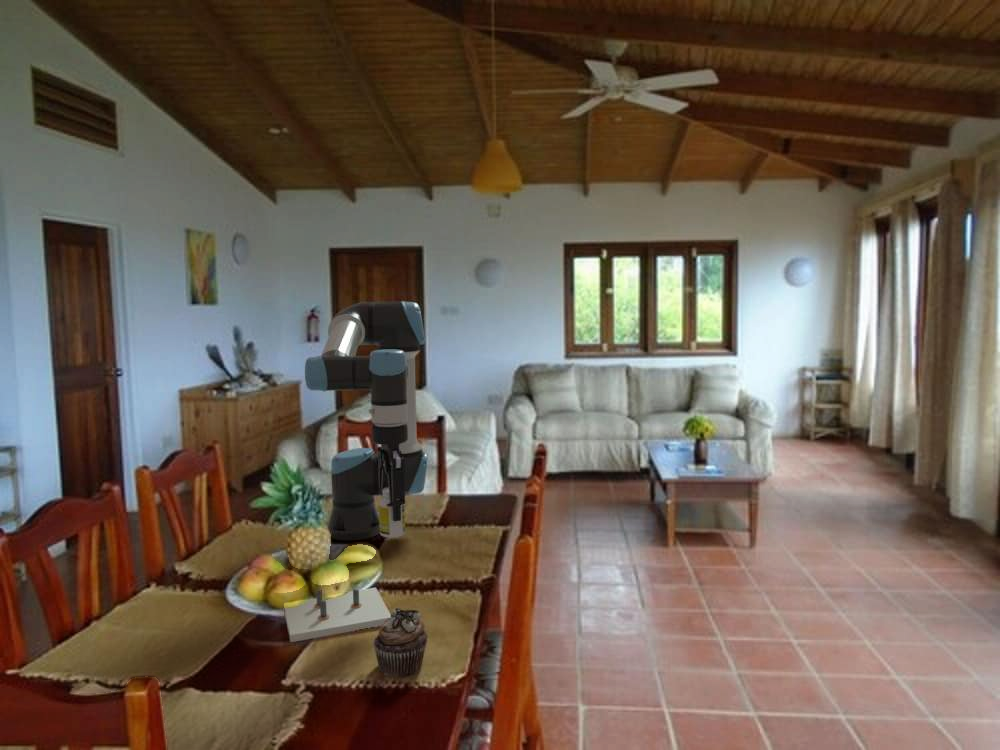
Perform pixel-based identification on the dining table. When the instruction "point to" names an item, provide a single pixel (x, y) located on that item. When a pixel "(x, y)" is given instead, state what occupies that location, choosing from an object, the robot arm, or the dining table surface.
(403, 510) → the supplement bottle
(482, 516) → the dining table surface
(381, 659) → the cupcake
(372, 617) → the pin nest
